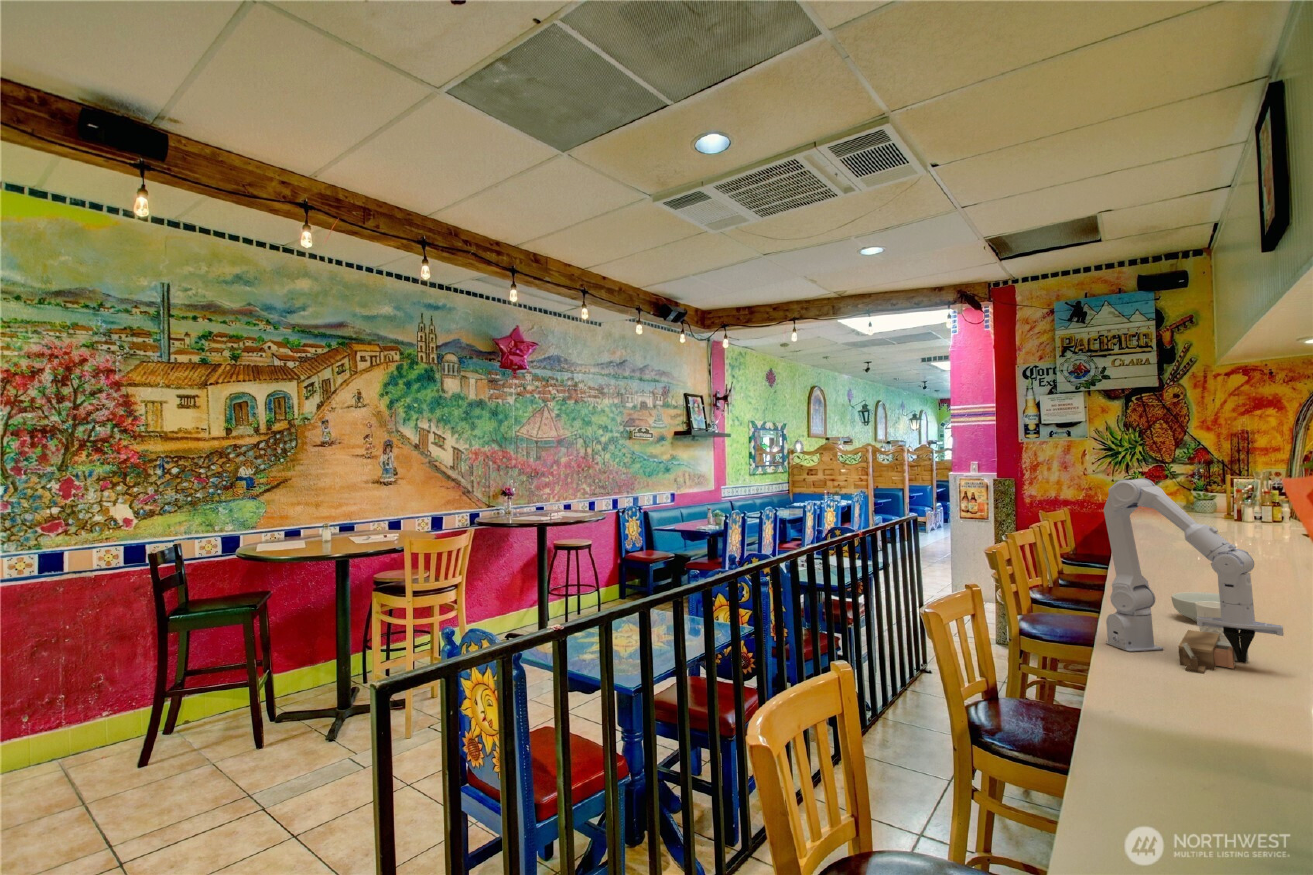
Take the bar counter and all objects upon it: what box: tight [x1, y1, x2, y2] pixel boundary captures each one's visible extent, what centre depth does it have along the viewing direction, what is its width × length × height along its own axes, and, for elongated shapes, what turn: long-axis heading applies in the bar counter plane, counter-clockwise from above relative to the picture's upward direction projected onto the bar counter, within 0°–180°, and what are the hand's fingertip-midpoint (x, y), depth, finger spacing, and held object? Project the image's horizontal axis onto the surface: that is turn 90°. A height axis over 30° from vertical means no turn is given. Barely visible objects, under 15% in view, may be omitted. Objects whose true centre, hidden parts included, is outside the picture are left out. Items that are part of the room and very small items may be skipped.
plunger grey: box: [1217, 641, 1249, 664], centre depth 148 cm, size 7×4×4 cm, turn 43°
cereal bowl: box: [1171, 591, 1220, 622], centre depth 180 cm, size 17×17×7 cm
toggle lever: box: [1182, 643, 1199, 662], centre depth 143 cm, size 1×2×4 cm, turn 133°
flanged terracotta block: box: [1214, 647, 1236, 669], centre depth 145 cm, size 7×4×4 cm, turn 43°
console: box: [1178, 629, 1220, 674], centre depth 148 cm, size 6×22×4 cm, turn 133°
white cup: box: [1196, 601, 1230, 643], centre depth 161 cm, size 8×8×10 cm
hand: (1241, 661), depth 142 cm, fingers closed
